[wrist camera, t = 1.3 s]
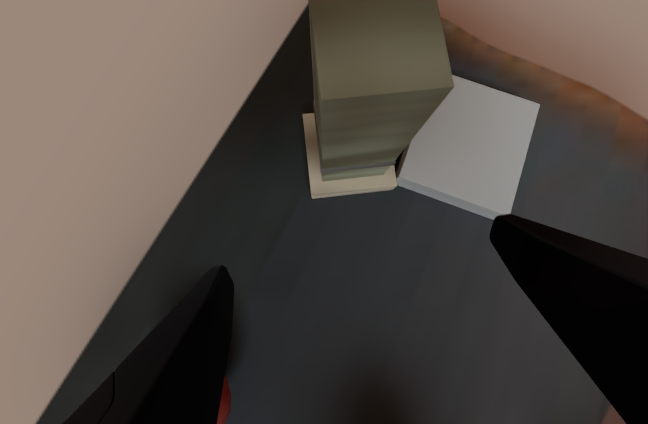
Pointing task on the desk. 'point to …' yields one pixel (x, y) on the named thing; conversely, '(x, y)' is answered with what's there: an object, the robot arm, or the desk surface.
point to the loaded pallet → (370, 89)
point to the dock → (471, 149)
